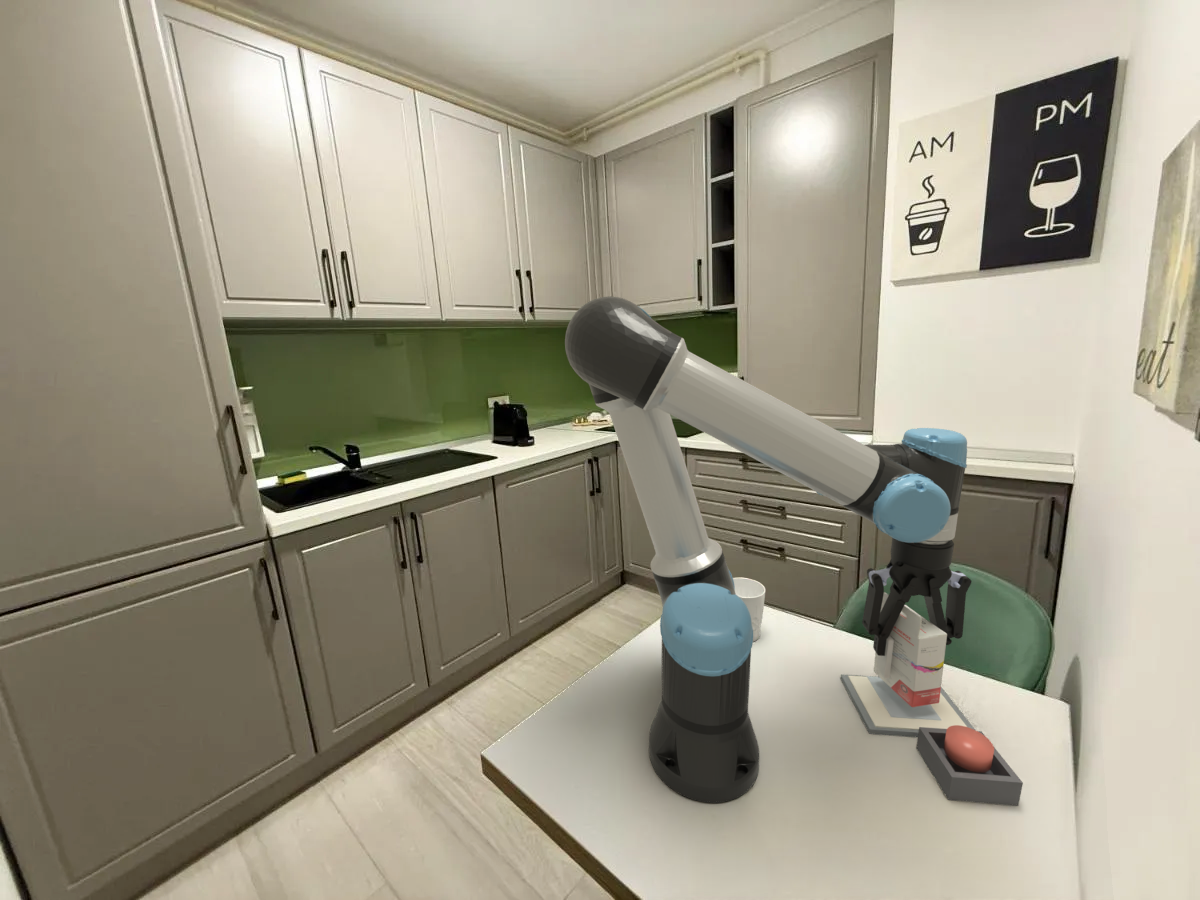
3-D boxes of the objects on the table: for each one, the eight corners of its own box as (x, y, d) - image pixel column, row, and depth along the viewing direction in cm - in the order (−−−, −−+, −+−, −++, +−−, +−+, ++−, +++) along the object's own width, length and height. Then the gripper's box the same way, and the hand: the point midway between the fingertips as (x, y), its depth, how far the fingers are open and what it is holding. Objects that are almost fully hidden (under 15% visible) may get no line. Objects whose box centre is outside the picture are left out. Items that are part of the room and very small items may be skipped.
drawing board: (869, 733, 72) (869, 727, 71) (840, 678, 83) (840, 672, 83) (980, 741, 70) (981, 735, 69) (935, 683, 81) (935, 678, 81)
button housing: (948, 799, 61) (951, 777, 60) (916, 747, 69) (919, 727, 68) (1018, 806, 60) (1023, 782, 59) (977, 752, 68) (981, 731, 67)
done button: (957, 771, 62) (960, 754, 61) (936, 739, 67) (938, 723, 66) (1000, 774, 61) (1003, 757, 61) (975, 742, 66) (978, 726, 65)
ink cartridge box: (941, 703, 73) (952, 615, 70) (911, 708, 72) (921, 620, 69) (898, 667, 81) (907, 586, 78) (871, 671, 80) (879, 590, 77)
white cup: (758, 622, 100) (760, 577, 98) (767, 646, 92) (769, 598, 90) (719, 621, 101) (720, 576, 99) (724, 644, 93) (726, 597, 91)
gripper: (864, 543, 69) (850, 686, 74) (1011, 547, 66) (986, 694, 71) (845, 524, 76) (833, 654, 81) (977, 526, 73) (956, 661, 79)
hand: (905, 672), depth 76 cm, fingers closed on ink cartridge box, 6 cm apart
